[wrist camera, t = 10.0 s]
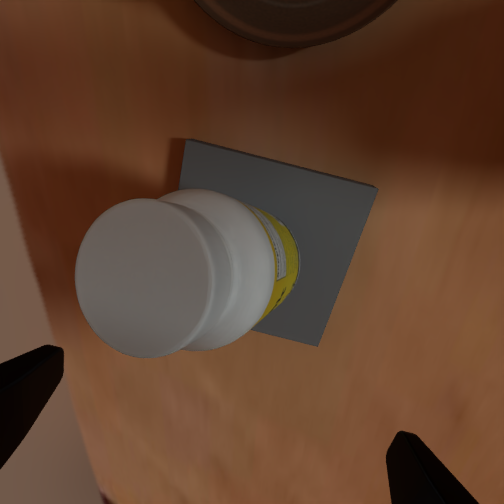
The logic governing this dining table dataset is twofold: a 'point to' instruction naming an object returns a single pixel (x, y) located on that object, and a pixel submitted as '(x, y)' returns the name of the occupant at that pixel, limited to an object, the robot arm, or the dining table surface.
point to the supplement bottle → (182, 272)
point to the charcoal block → (291, 225)
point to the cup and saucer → (294, 19)
